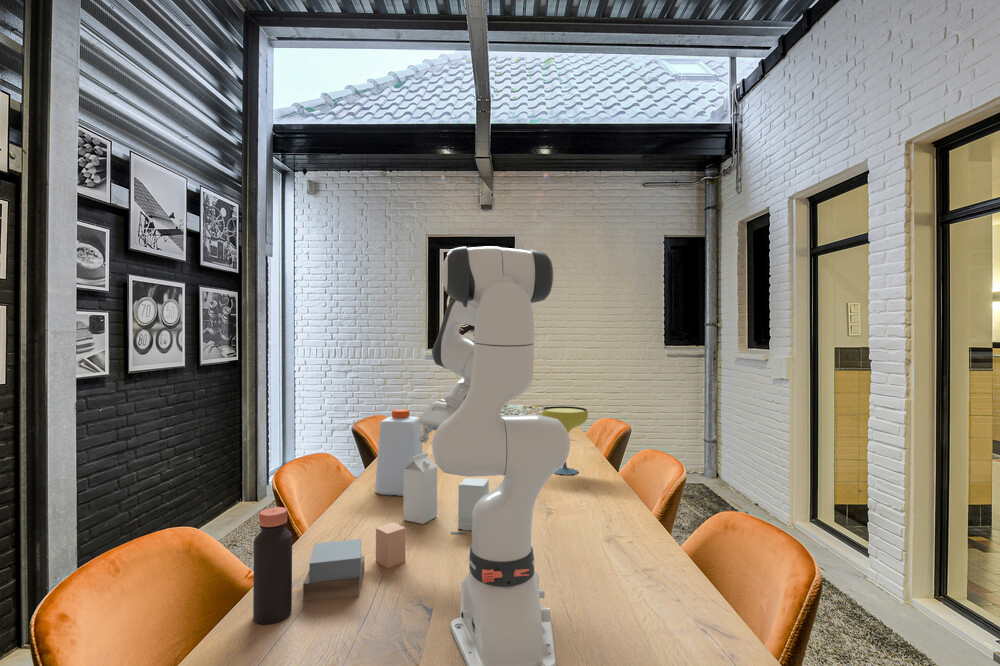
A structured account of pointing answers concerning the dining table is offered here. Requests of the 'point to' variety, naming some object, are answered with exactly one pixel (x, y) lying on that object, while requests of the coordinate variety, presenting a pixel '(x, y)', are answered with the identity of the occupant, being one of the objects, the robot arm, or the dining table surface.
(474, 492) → the supplement box
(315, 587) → the tower base block
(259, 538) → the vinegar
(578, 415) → the cocktail glass
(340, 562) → the tower top block
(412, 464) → the milk carton
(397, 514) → the dining table surface
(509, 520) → the robot arm
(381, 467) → the plastic bottle
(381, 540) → the terracotta block
